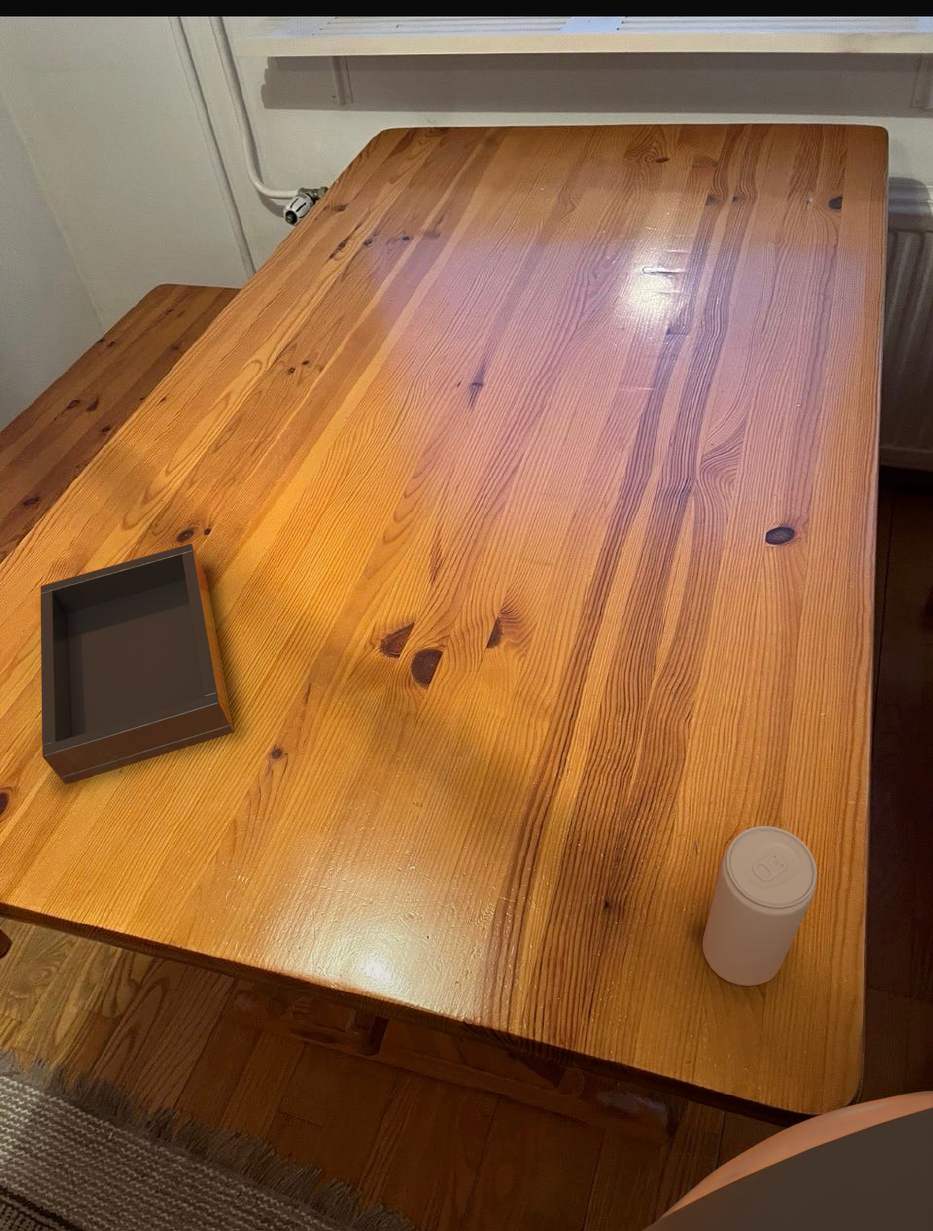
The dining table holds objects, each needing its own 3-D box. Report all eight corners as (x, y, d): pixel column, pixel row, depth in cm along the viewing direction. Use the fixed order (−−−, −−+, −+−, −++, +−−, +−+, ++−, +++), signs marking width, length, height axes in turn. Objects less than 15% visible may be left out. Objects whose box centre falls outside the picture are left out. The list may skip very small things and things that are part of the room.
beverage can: (798, 962, 57) (840, 878, 48) (736, 1006, 55) (767, 927, 46) (745, 898, 60) (774, 807, 50) (684, 938, 58) (704, 852, 49)
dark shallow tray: (234, 732, 72) (218, 702, 69) (65, 784, 70) (41, 756, 67) (205, 574, 83) (191, 542, 80) (60, 616, 82) (40, 585, 79)
